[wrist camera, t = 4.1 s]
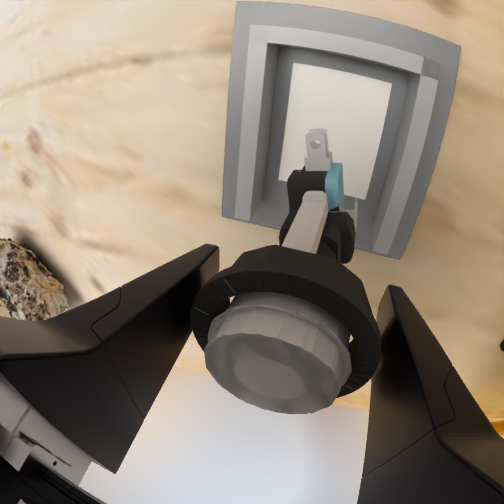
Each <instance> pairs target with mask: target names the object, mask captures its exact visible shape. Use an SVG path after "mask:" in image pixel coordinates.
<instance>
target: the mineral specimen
mask: <svg viewBox="0 0 504 504" xmlns="http://www.w3.org/2000/svg"><path fill="white" fill-rule="evenodd" d="M64 290H65V289H64V286H63V284H60V283H59V282H58V281H57V280H56V279H55V277H54V273H52V272H49V271H48V270H47V268H46V267H45V266H44V265H43V264H42V263H41V262H40V261H39V260H38V259H37V256H36V255H35V254H34V253H33V252H32V251H30V250H26V247H25V244H23V243H20V242H18V243H15V241H12V240H11V239H10V238H9V239H8V240H7V239H0V306H2V307H6V308H7V309H8V310H9V311H10V312H9V313H10V315H11V317H13V318H14V319H20V320H27V321H41V320H46V319H49V318H52V317H54V316H56V315H59V314H61V313H62V312H63V311H64V310H65V307H66V308H69V303H68V300H67V298H66V296H65V292H64Z"/></svg>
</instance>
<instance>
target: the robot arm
mask: <svg viewBox="0 0 504 504" xmlns="http://www.w3.org/2000/svg"><path fill="white" fill-rule="evenodd" d="M218 272H219V247H218V246H216V245H211V244H204V245H202V246H200V247H198V248H196V249H194V250H192V251H190V252H188V253H186V254H184V255H182V256H180V257H178V258H176V259H174V260H172V261H170V262H168V263H166V264H164V265H162V266H160V267H158V268H156V269H154V270H152V271H150V272H148V273H146V274H144V275H142V276H140V277H138V278H136V279H134V280H132V281H130V282H128V283H126V284H124V285H122V287H118V288H116V289H115V290H113V291H111V292H109V293H107V294H105V295H102V296H100V297H98V298H96V299H94V300H92V301H89V302H87V303H85V304H83V305H80V306H78V307H76V308H73V309H71V310H68V311H66V312H64V313H61V314H59V315H56V316H54V317H52V318H49V319H46V320H41V321H27V320H20V319H13V318H7V317H1V316H0V504H107V503H105V502H103V501H101V500H100V499H98V498H96V497H95V496H93V495H91V494H90V493H88V492H86V491H85V490H83V489H82V488H80V487H79V486H78V485H79V483H80V481H81V480H82V478H83V476H84V474H85V472H86V471H87V469H88V467H89V465H90V464H91V462H92V461H93V462H95V463H96V464H98V465H100V466H101V467H103V468H105V469H107V470H109V471H110V472H112V473H114V474H116V472H117V471H118V469H119V467H120V465H121V463H122V461H123V459H124V457H125V455H126V454H127V452H128V450H129V448H130V446H131V444H132V442H133V440H134V438H135V437H136V435H137V433H138V431H139V429H140V427H141V425H142V423H143V421H144V419H145V417H146V416H147V414H148V412H149V410H150V408H151V406H152V404H153V402H154V401H155V398H156V397H157V395H158V393H159V391H160V389H161V387H162V386H163V384H164V382H165V380H166V378H167V376H168V375H169V373H170V371H171V369H172V367H173V365H174V363H175V362H176V360H177V358H178V356H179V354H180V352H181V351H182V349H183V347H184V345H185V343H186V341H187V340H188V338H189V336H190V334H191V332H192V326H191V319H190V313H191V307H192V304H193V301H194V299H195V297H196V296H197V294H198V292H199V291H200V290H201V288H202V287H203V285H204V284H205V283H206V282H207V281H208V280H209V279H210V278H211V277H213V276H214V275H215V274H217V273H218ZM377 324H378V327H379V330H380V335H381V355H380V361H379V365H378V367H377V370H376V371H375V373H374V375H373V376H372V380H371V398H370V411H369V423H368V434H367V442H366V451H365V459H364V466H363V473H362V477H363V478H362V479H361V485H360V491H359V496H358V502H357V504H504V439H503V438H502V437H501V436H500V435H499V434H498V433H497V432H496V431H495V429H494V428H493V426H492V425H491V423H490V422H489V420H488V419H487V417H486V416H485V414H484V413H483V411H482V410H481V408H480V407H479V405H478V404H477V402H476V401H475V399H474V398H473V396H472V395H471V393H470V392H469V390H468V389H467V387H466V386H465V384H464V382H463V381H462V379H461V378H460V376H459V374H458V373H457V371H456V369H455V368H454V366H452V363H451V361H450V360H449V358H448V356H447V355H446V353H445V352H444V350H443V348H442V347H441V345H440V344H439V342H438V341H437V339H436V337H435V336H434V334H433V333H432V331H431V330H430V328H429V327H428V325H427V324H426V322H425V321H424V319H423V318H422V316H421V315H420V314H419V312H418V311H417V309H416V308H415V306H414V305H413V303H412V302H411V301H410V299H409V298H408V296H407V295H406V293H405V292H404V291H403V289H402V288H401V287H399V286H394V285H388V287H387V288H386V290H385V293H384V295H383V297H382V299H381V301H380V304H379V307H378V313H377ZM500 349H501V351H504V341H503V342H502V344H501V345H500Z"/></svg>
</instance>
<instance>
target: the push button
mask: <svg viewBox="0 0 504 504" xmlns="http://www.w3.org/2000/svg"><path fill="white" fill-rule="evenodd" d="M305 139H306V148H307V157H308V158H304V161H305V165H304V167H303V169H302V170H293V172H292V173H291V175H290V176H289V178H288V179H287V192H288V200H289V214H288V216H287V217H286V219H285V221H284V223H283V225H282V227H281V230H280V235H279V244H280V246H279V245H270V246H266V247H262V248H259V249H255V250H251V251H247V252H244V253H243V254H241V256H240V257H239V258H238V259H237V260H236V262H235V263H234V264H233V265H232V267H229V268H227V269H225V270H222V271H220V272H219V273H217V274H215V275H214V276H213V277H211V278H210V279H209V280H208V281H207V282H206V283H205V284H204V285H203V287H202V288H201V290H200V291H199V292H198V294H197V296H196V297H195V299H194V301H193V304H192V307H191V313H190V319H191V326H192V330H193V333H194V335H195V338H196V340H197V342H198V344H199V345H200V347H201V348H202V350H203V351H204V354H205V363H206V368H207V369H208V371H209V372H210V373H211V375H212V376H213V377H214V379H215V380H216V381H217V383H218V384H219V385H221V387H223V388H224V389H226V390H227V391H229V392H230V393H232V394H233V395H234V396H236V397H237V398H239V399H241V400H243V401H245V402H246V403H249V404H252V405H255V406H257V407H260V408H262V409H265V410H270V411H274V412H279V413H287V414H307V413H314V412H316V411H319V410H321V409H323V408H326V407H329V406H330V405H332V404H333V402H334V400H335V399H336V398H338V397H342V396H345V395H347V394H350V393H352V392H354V391H356V390H357V389H359V388H361V387H362V386H363V385H365V384H366V383H367V382H368V381H369V380H370V379H371V377H372V376H373V375H374V373H375V371H376V370H377V367H378V365H379V361H380V355H381V335H380V330H379V327H378V324H377V322H376V320H375V318H374V316H373V314H372V311H371V308H370V304H369V301H368V298H367V295H366V292H365V289H364V286H363V283H362V281H361V280H360V279H359V278H358V277H357V276H356V275H355V274H353V273H352V272H351V271H350V270H349V269H347V268H346V267H345V266H344V265H342V264H346V263H349V262H350V260H351V259H352V256H353V253H354V245H355V235H356V228H357V198H356V199H355V209H354V210H345V209H344V185H343V167H342V163H333V158H332V152H329V150H328V139H327V130H326V129H325V128H320V129H310V130H309V133H307V134H306V135H305ZM314 140H317V141H319V142H320V144H317V143H316V142H315V141H314ZM232 296H235V297H234V299H233V300H232V302H231V304H230V298H229V297H232ZM350 334H351V335H352V336H353V340H352V341H351V342H350V343H349V340H350Z"/></svg>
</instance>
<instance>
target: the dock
mask: <svg viewBox="0 0 504 504" xmlns="http://www.w3.org/2000/svg"><path fill="white" fill-rule="evenodd" d="M460 50H461V46H459V45H457V44H454V43H452V42H449V41H447V40H444V39H442V38H439V37H436V36H434V35H431V34H428V33H425V32H422V31H419V30H416V29H413V28H410V27H407V26H404V25H400V24H397V23H393V22H390V21H386V20H382V19H378V18H374V17H370V16H366V15H361V14H356V13H351V12H346V11H341V10H335V9H329V8H323V7H315V6H308V5H299V4H288V3H275V2H253V1H236V10H235V21H234V32H233V43H232V55H231V67H230V80H229V93H228V108H227V123H226V139H225V157H224V176H223V197H222V217H226V218H230V219H235V220H239V221H243V222H248V223H252V224H257V225H261V226H265V227H269V228H274V229H278V230H281V227H282V225H283V223H284V221H285V219H286V217H287V216H288V214H289V200H288V192H287V179H288V178H289V176H290V175H291V173H292V172H293V170H302V169H303V167H304V165H305V161H304V158H308V157H307V148H306V139H305V135H306V134H307V133H309V130H310V129H320V128H325V129H326V130H327V139H328V150H329V152H332V158H333V163H342V167H343V185H344V209H345V210H354V209H355V199H356V198H357V228H356V235H355V245H354V248H356V249H360V250H363V251H367V252H371V253H375V254H379V255H383V256H387V257H390V258H394V259H398V260H400V259H401V257H402V254H403V252H404V250H405V247H406V245H407V242H408V240H409V237H410V235H411V232H412V230H413V227H414V224H415V222H416V219H417V216H418V214H419V211H420V208H421V205H422V203H423V200H424V197H425V194H426V191H427V188H428V185H429V182H430V179H431V176H432V173H433V169H434V166H435V163H436V159H437V156H438V153H439V149H440V145H441V142H442V138H443V134H444V130H445V126H446V122H447V118H448V114H449V110H450V105H451V101H452V96H453V91H454V86H455V81H456V75H457V70H458V63H459V57H460ZM314 141H315V142H316V143H317V144H320V142H319V141H317V140H314Z"/></svg>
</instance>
